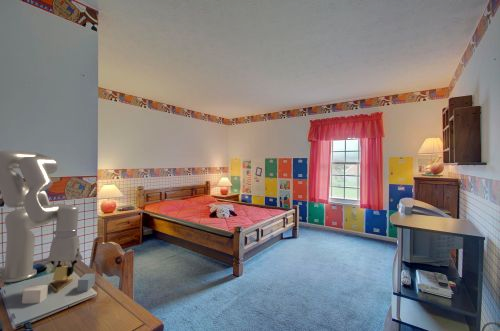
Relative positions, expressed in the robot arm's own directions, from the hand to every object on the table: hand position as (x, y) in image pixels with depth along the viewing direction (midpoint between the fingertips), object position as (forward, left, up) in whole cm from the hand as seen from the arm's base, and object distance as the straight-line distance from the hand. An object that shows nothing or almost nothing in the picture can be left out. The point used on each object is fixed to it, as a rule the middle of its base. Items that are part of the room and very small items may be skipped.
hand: (63, 274), depth 104 cm
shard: (0, 0, -5) cm, 5 cm away
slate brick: (+11, -3, -5) cm, 12 cm away
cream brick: (-3, -12, -5) cm, 13 cm away
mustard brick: (0, -1, -1) cm, 2 cm away
